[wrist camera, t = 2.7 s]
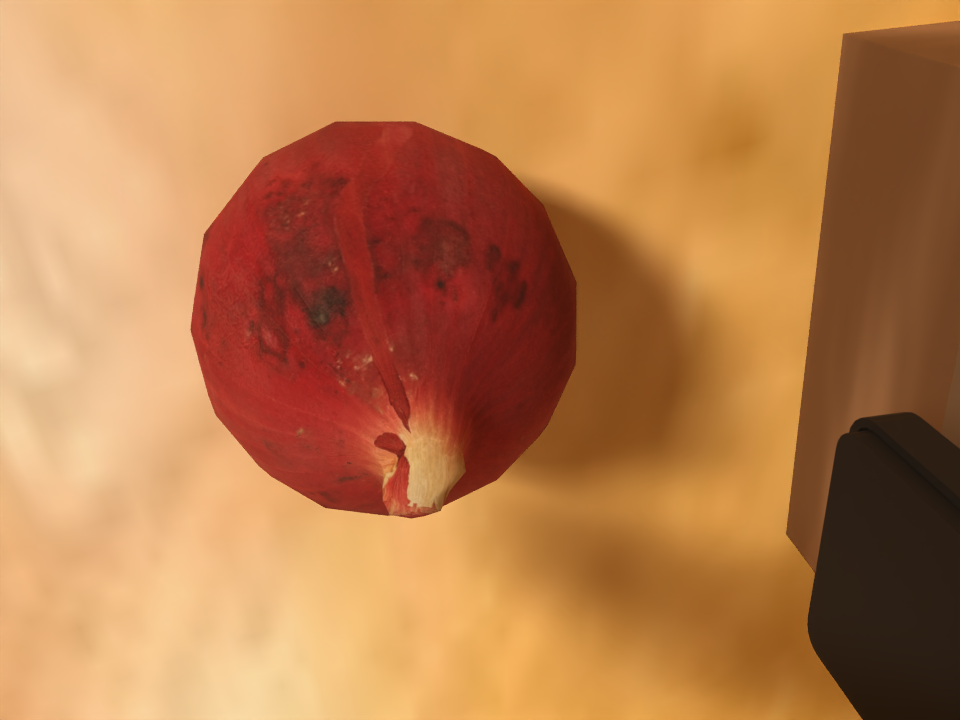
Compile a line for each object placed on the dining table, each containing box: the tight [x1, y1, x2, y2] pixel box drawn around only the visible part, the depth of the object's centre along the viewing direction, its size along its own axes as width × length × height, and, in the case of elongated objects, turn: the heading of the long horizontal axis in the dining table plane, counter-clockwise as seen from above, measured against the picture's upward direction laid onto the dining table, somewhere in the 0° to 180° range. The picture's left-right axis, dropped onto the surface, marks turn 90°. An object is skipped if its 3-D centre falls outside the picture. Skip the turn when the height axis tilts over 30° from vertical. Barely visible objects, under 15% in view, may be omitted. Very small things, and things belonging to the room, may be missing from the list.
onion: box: [191, 122, 576, 518], centre depth 14 cm, size 6×6×8 cm
